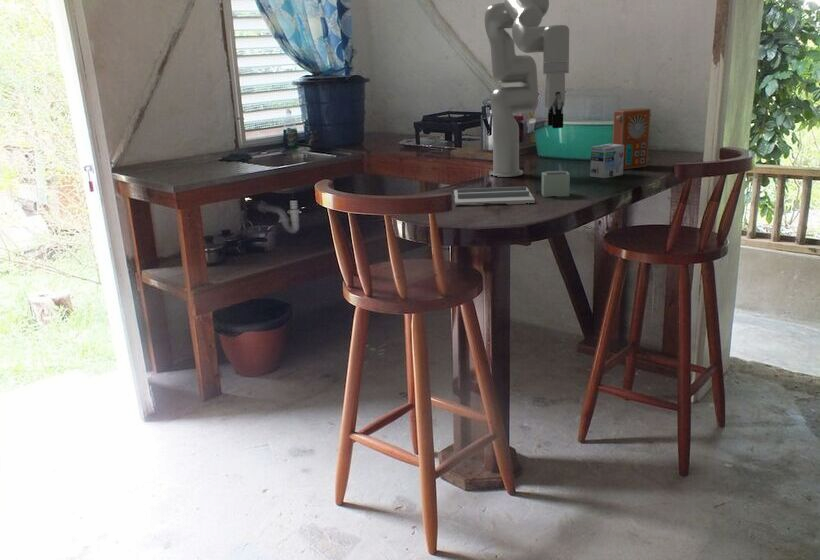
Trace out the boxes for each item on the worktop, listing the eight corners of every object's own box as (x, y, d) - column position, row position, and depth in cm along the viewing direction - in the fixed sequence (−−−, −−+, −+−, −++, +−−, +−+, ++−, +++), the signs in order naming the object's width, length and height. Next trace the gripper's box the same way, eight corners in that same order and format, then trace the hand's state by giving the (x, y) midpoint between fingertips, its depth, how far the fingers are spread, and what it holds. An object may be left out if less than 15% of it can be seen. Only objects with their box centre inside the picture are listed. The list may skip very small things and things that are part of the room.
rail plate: (454, 193, 229) (453, 185, 229) (526, 190, 228) (527, 183, 227) (455, 206, 210) (454, 197, 210) (534, 203, 209) (534, 195, 208)
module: (541, 194, 223) (541, 171, 220) (566, 193, 222) (567, 170, 220) (543, 197, 218) (543, 173, 216) (569, 196, 217) (569, 172, 215)
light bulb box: (604, 178, 242) (605, 147, 239) (589, 176, 248) (590, 146, 244) (623, 174, 248) (625, 144, 245) (608, 172, 254) (609, 143, 250)
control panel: (651, 166, 262) (618, 170, 257) (639, 164, 268) (607, 168, 263) (654, 108, 255) (621, 111, 250) (642, 107, 262) (609, 110, 256)
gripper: (540, 69, 217) (539, 124, 222) (547, 69, 201) (546, 129, 206) (564, 68, 216) (563, 123, 221) (573, 68, 200) (572, 128, 205)
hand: (555, 126), depth 214 cm, fingers open, 9 cm apart
